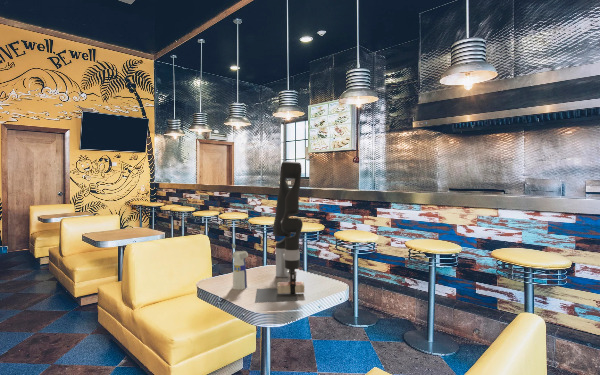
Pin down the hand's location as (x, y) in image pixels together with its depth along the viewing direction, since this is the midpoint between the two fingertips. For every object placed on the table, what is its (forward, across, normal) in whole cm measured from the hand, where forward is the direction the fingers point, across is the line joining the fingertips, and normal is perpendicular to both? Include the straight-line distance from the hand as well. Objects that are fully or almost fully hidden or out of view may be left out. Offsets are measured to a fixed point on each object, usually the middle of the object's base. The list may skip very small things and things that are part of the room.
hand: (292, 291), depth 164 cm
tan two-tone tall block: (-2, 0, +7) cm, 8 cm away
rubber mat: (+2, +1, +8) cm, 8 cm away
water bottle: (+2, +15, +27) cm, 31 cm away
